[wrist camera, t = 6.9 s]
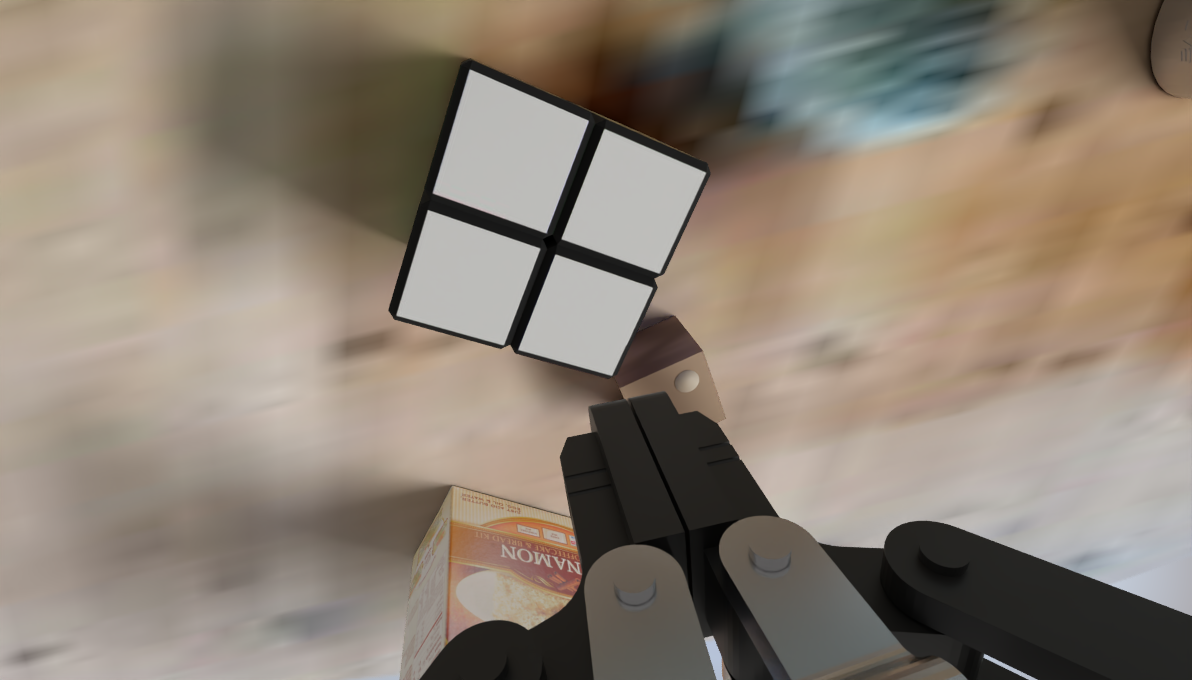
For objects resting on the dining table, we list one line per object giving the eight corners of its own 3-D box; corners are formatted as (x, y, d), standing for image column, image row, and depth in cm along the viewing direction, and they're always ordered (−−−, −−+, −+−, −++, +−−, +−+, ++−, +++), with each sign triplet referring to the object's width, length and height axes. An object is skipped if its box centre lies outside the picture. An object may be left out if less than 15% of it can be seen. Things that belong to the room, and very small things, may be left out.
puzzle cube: (578, 300, 35) (616, 384, 26) (408, 246, 31) (384, 321, 22) (647, 135, 31) (717, 166, 22) (464, 55, 28) (461, 55, 19)
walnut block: (674, 315, 36) (703, 351, 32) (696, 377, 39) (726, 418, 34) (601, 347, 36) (619, 388, 32) (628, 407, 39) (648, 453, 34)
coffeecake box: (640, 534, 44) (751, 844, 27) (595, 599, 46) (671, 926, 29) (451, 480, 38) (437, 826, 21) (410, 557, 40) (367, 928, 23)
